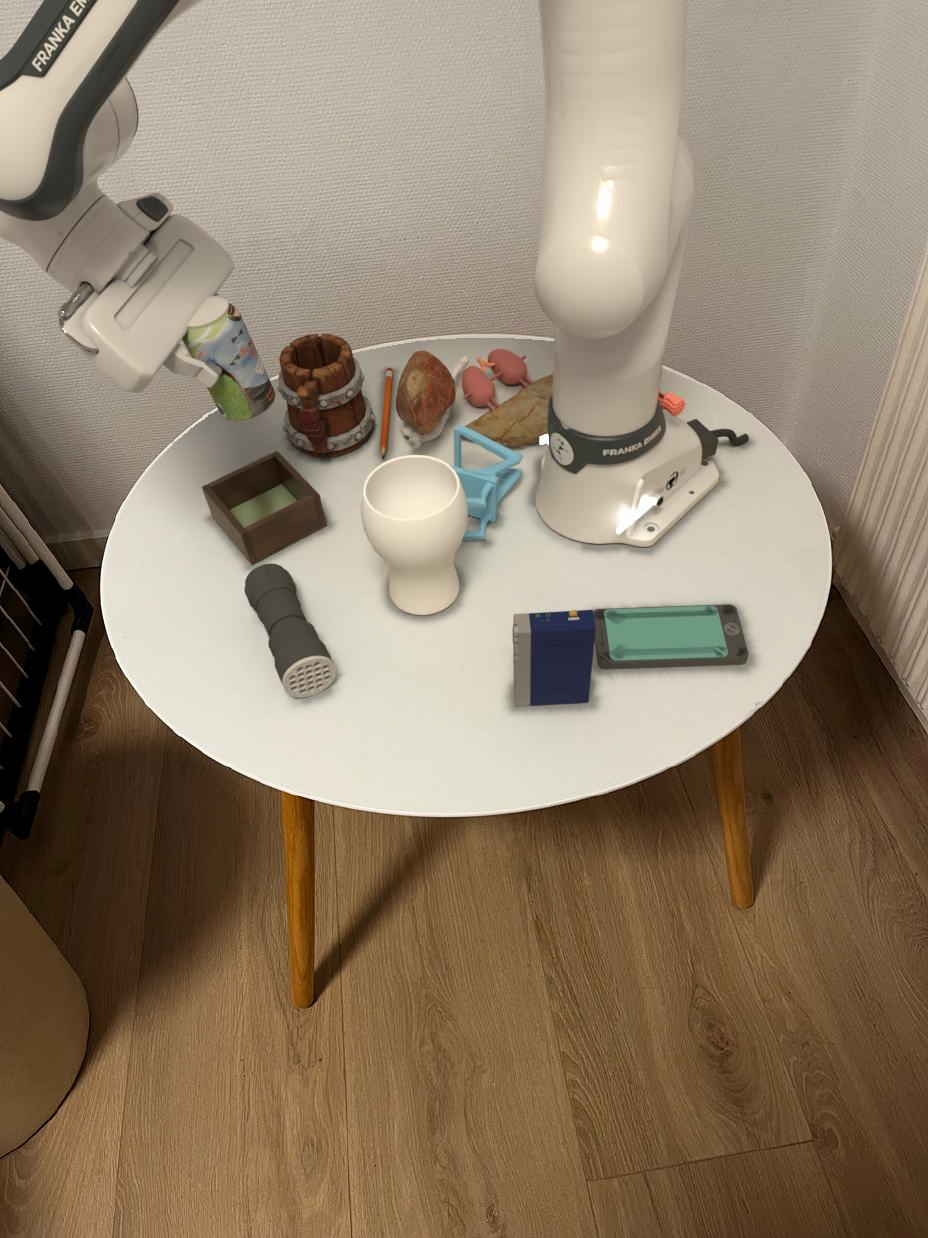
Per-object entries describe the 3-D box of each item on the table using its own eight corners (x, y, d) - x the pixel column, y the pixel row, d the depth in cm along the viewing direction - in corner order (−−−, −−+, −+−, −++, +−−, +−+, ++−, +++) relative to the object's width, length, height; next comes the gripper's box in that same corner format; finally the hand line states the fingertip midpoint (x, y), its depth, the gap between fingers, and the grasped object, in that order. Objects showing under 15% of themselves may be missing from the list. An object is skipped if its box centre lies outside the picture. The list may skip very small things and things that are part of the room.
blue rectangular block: (586, 683, 90) (593, 606, 81) (589, 703, 89) (597, 626, 79) (512, 687, 90) (511, 611, 81) (514, 707, 89) (513, 631, 80)
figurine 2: (538, 385, 124) (504, 347, 124) (547, 371, 121) (512, 332, 121) (477, 428, 119) (442, 388, 119) (485, 414, 116) (449, 373, 116)
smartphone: (750, 657, 90) (599, 662, 90) (747, 664, 91) (598, 669, 91) (735, 601, 94) (591, 606, 95) (733, 608, 95) (591, 613, 96)
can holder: (285, 481, 112) (277, 450, 108) (327, 525, 107) (319, 494, 103) (212, 517, 108) (201, 486, 105) (251, 565, 103) (241, 534, 99)
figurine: (468, 356, 120) (442, 434, 108) (471, 382, 123) (446, 461, 111) (417, 356, 122) (386, 434, 110) (421, 382, 125) (391, 460, 113)
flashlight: (246, 601, 100) (234, 568, 95) (292, 584, 101) (282, 551, 97) (289, 704, 90) (278, 672, 86) (340, 684, 92) (331, 651, 88)
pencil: (386, 372, 125) (393, 372, 125) (379, 461, 113) (386, 461, 113) (386, 367, 125) (392, 366, 125) (378, 456, 113) (385, 456, 113)
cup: (456, 634, 95) (446, 533, 83) (362, 615, 97) (340, 514, 86) (484, 562, 101) (479, 459, 90) (395, 546, 104) (379, 443, 92)
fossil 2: (441, 343, 116) (485, 407, 116) (392, 383, 119) (435, 446, 119) (411, 334, 104) (460, 405, 104) (357, 379, 107) (405, 449, 107)
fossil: (644, 398, 117) (642, 409, 118) (566, 359, 123) (565, 369, 124) (533, 475, 107) (533, 485, 108) (455, 427, 113) (456, 438, 115)
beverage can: (282, 420, 92) (255, 314, 83) (211, 436, 91) (176, 330, 82) (273, 387, 96) (246, 282, 87) (204, 402, 95) (170, 297, 86)
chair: (520, 488, 110) (488, 557, 103) (456, 472, 111) (420, 539, 104) (524, 439, 103) (490, 509, 97) (456, 423, 105) (418, 491, 98)
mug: (381, 395, 121) (364, 307, 108) (373, 480, 114) (354, 397, 101) (295, 397, 122) (268, 310, 109) (282, 481, 115) (251, 399, 102)
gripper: (60, 299, 74) (201, 409, 80) (168, 183, 87) (283, 285, 92) (34, 341, 78) (170, 443, 84) (141, 225, 91) (253, 320, 97)
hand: (230, 359), depth 88 cm, fingers closed on beverage can, 5 cm apart
